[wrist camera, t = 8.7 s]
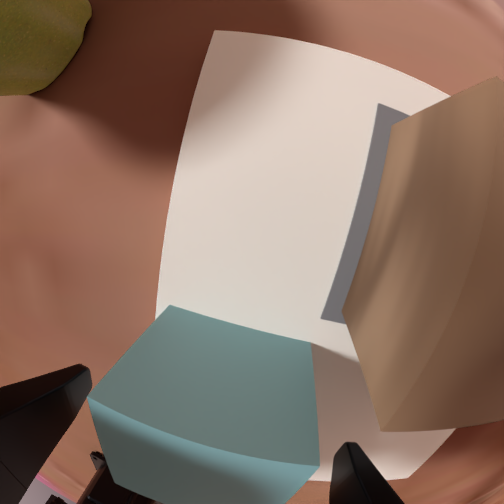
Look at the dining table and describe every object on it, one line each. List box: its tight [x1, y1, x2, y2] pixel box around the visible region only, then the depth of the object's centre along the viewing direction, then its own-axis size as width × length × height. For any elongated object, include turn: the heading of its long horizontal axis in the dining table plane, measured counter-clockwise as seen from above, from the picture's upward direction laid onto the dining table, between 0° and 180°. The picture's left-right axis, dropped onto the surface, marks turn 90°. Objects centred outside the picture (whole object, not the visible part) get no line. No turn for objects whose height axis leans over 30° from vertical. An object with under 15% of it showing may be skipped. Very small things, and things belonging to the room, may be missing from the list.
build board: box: [155, 30, 456, 481], centre depth 9 cm, size 19×16×1 cm
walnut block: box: [341, 76, 504, 432], centre depth 5 cm, size 6×6×5 cm
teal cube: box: [87, 305, 320, 504], centre depth 7 cm, size 5×5×5 cm
